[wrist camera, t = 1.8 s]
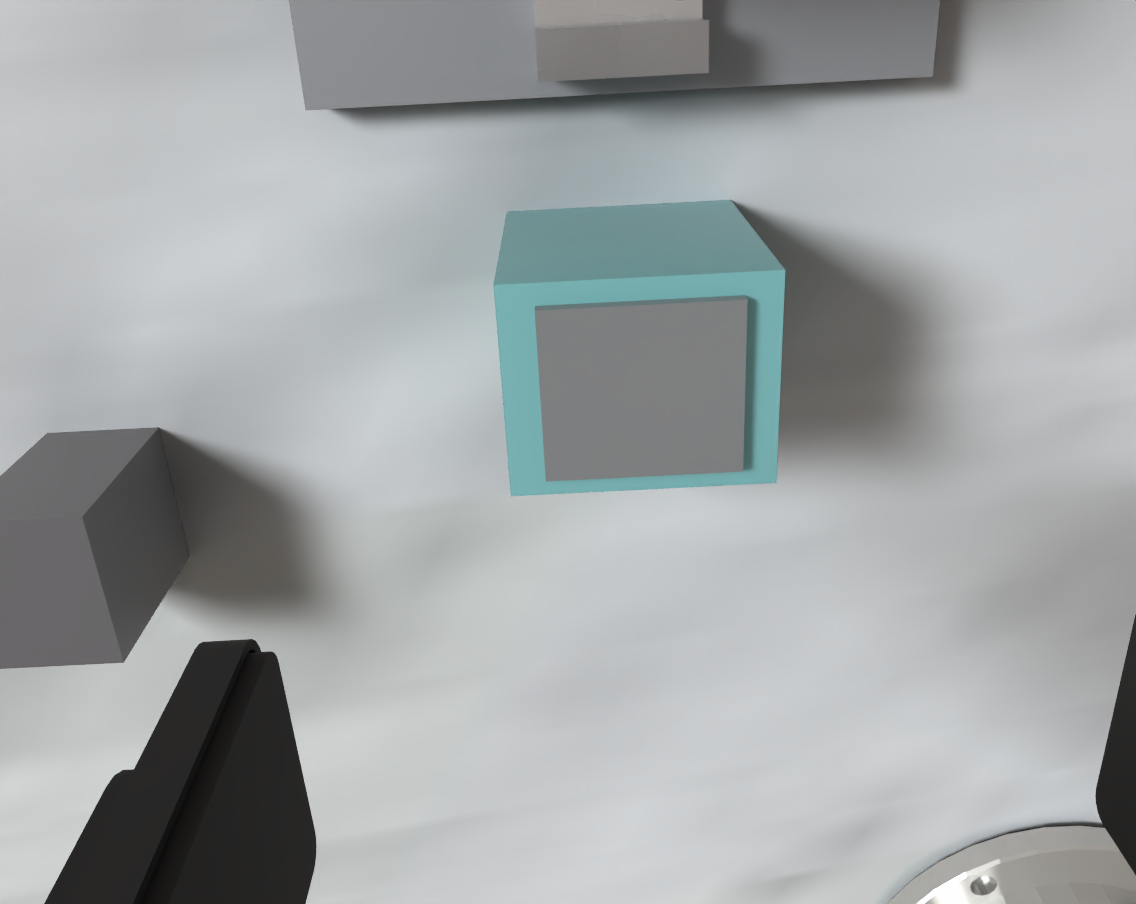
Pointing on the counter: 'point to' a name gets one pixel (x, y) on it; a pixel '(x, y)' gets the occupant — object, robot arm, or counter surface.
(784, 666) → the counter surface
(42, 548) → the grey rectangular block
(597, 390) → the teal module
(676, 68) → the metal rail
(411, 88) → the board
